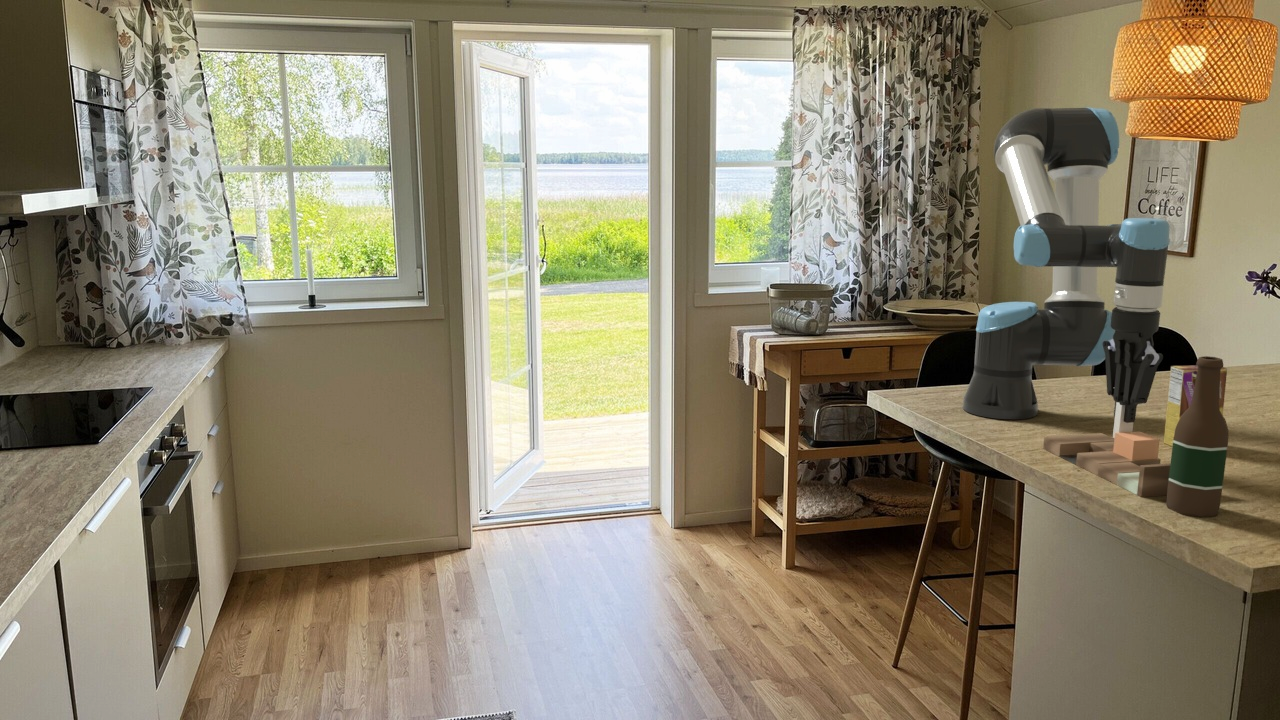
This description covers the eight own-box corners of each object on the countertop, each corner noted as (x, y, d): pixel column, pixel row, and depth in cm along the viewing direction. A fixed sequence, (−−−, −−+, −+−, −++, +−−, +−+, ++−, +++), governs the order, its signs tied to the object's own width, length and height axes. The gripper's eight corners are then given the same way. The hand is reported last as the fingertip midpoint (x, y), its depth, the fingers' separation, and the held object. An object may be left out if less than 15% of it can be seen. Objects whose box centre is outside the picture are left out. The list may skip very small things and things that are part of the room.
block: (1113, 451, 173) (1115, 433, 173) (1138, 450, 174) (1140, 431, 174) (1131, 460, 169) (1134, 440, 168) (1157, 458, 169) (1159, 439, 169)
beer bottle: (1174, 516, 148) (1192, 362, 143) (1156, 499, 156) (1173, 352, 151) (1229, 519, 147) (1249, 364, 142) (1209, 502, 154) (1227, 353, 150)
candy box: (1205, 441, 188) (1214, 363, 185) (1220, 447, 184) (1230, 368, 180) (1161, 442, 187) (1170, 364, 184) (1175, 449, 183) (1185, 369, 180)
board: (1043, 448, 183) (1045, 423, 182) (1100, 445, 185) (1103, 419, 184) (1141, 496, 157) (1144, 467, 156) (1206, 492, 159) (1210, 462, 158)
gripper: (1093, 302, 175) (1080, 429, 180) (1142, 315, 162) (1127, 450, 168) (1130, 301, 176) (1116, 426, 181) (1182, 313, 164) (1166, 447, 169)
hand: (1122, 438), depth 174 cm, fingers closed
